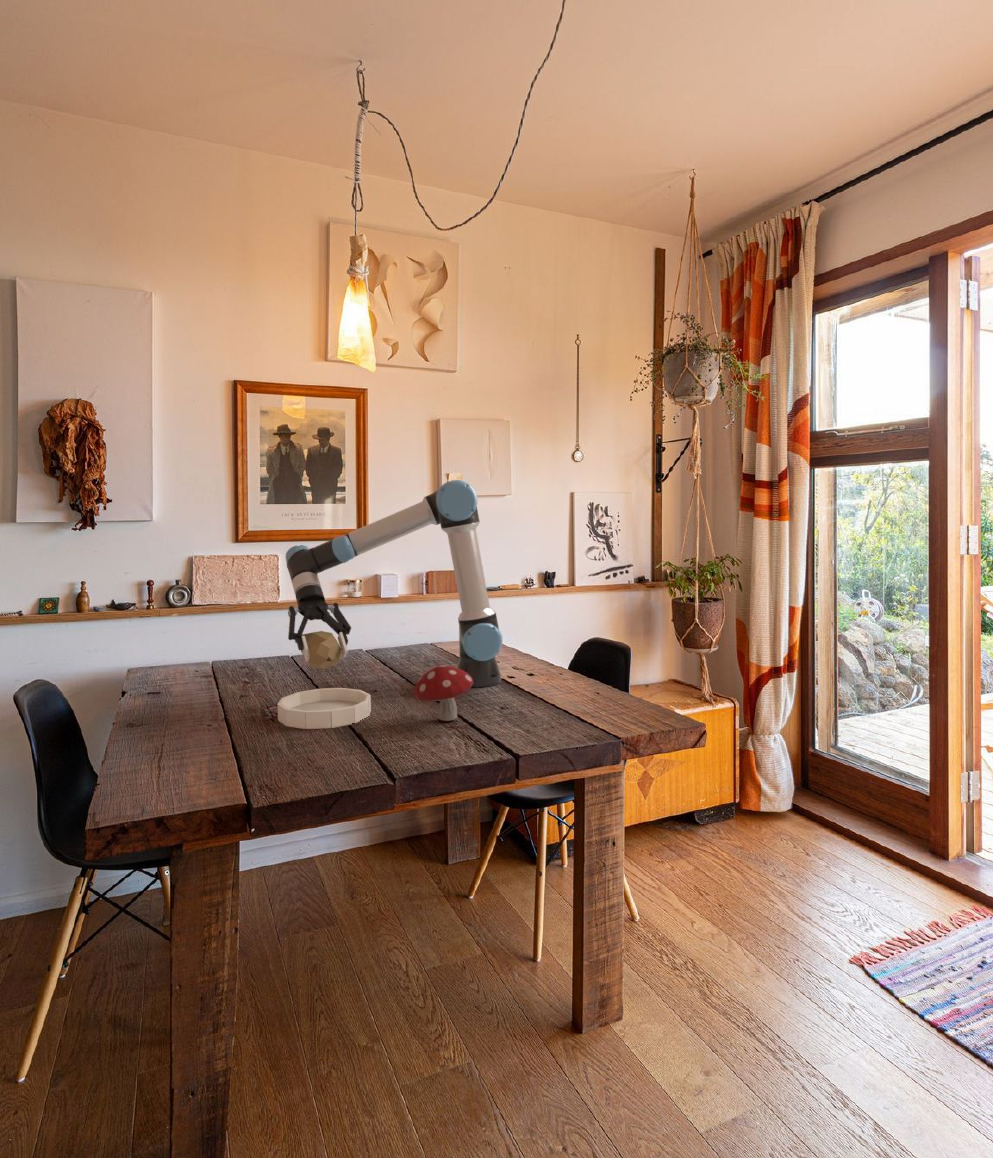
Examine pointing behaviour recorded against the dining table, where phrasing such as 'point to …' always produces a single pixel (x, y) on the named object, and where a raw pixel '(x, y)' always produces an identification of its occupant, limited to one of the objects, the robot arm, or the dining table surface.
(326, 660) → the low-poly potato
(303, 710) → the cream bowl
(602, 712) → the dining table surface
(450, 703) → the decorative mushroom
